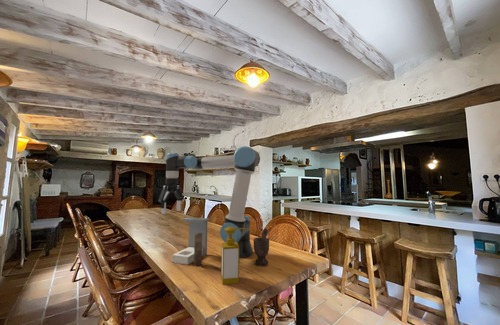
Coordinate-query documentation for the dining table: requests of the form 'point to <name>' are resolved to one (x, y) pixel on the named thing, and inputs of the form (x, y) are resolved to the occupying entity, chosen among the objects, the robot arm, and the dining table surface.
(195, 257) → the walnut dowel
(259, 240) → the mortar and pestle
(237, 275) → the soap bottle
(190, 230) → the stand
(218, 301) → the dining table surface
